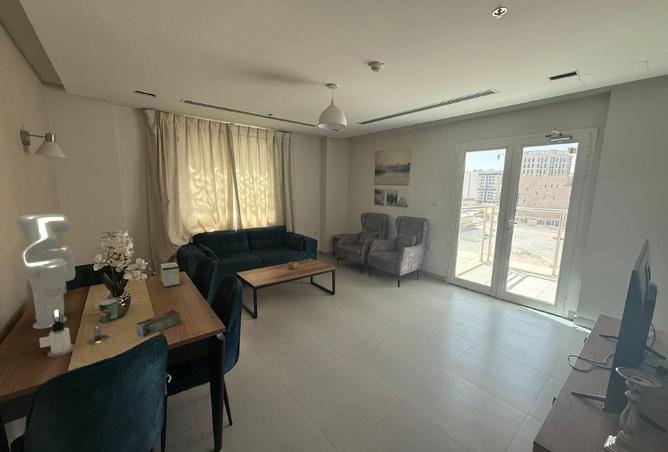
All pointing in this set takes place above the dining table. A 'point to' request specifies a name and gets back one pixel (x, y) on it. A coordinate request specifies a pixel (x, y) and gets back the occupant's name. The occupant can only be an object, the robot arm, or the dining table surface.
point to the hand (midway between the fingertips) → (58, 326)
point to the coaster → (62, 352)
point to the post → (97, 336)
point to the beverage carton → (158, 323)
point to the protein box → (170, 275)
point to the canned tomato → (108, 310)
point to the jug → (57, 341)
